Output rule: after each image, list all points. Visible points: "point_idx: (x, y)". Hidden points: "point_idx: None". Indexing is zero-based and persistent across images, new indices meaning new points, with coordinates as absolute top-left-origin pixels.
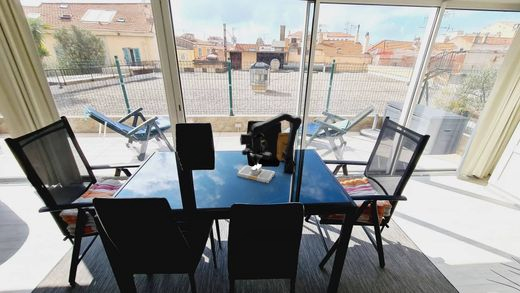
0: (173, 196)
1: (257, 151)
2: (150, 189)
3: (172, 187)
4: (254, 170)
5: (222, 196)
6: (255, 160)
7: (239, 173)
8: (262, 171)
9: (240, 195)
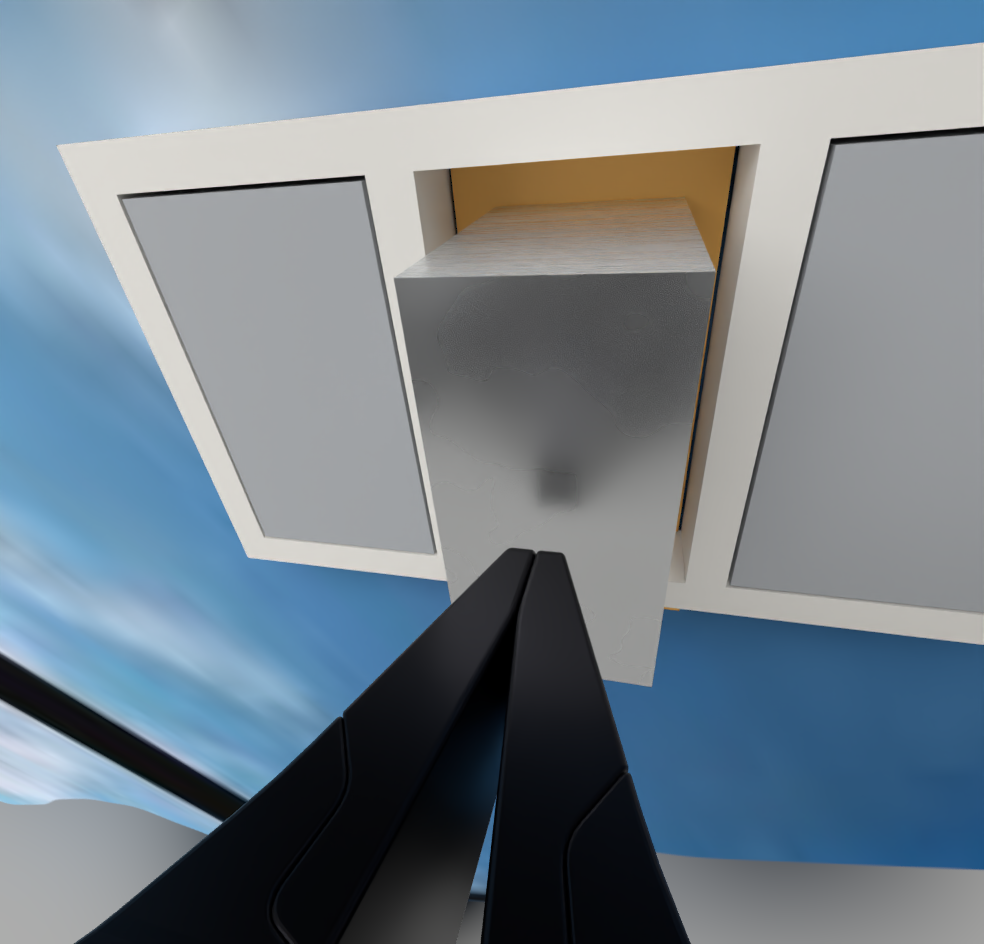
0: (187, 819)
1: None
2: (34, 779)
3: (80, 762)
4: None
5: None
6: (441, 918)
7: (287, 558)
8: (753, 288)
9: None
